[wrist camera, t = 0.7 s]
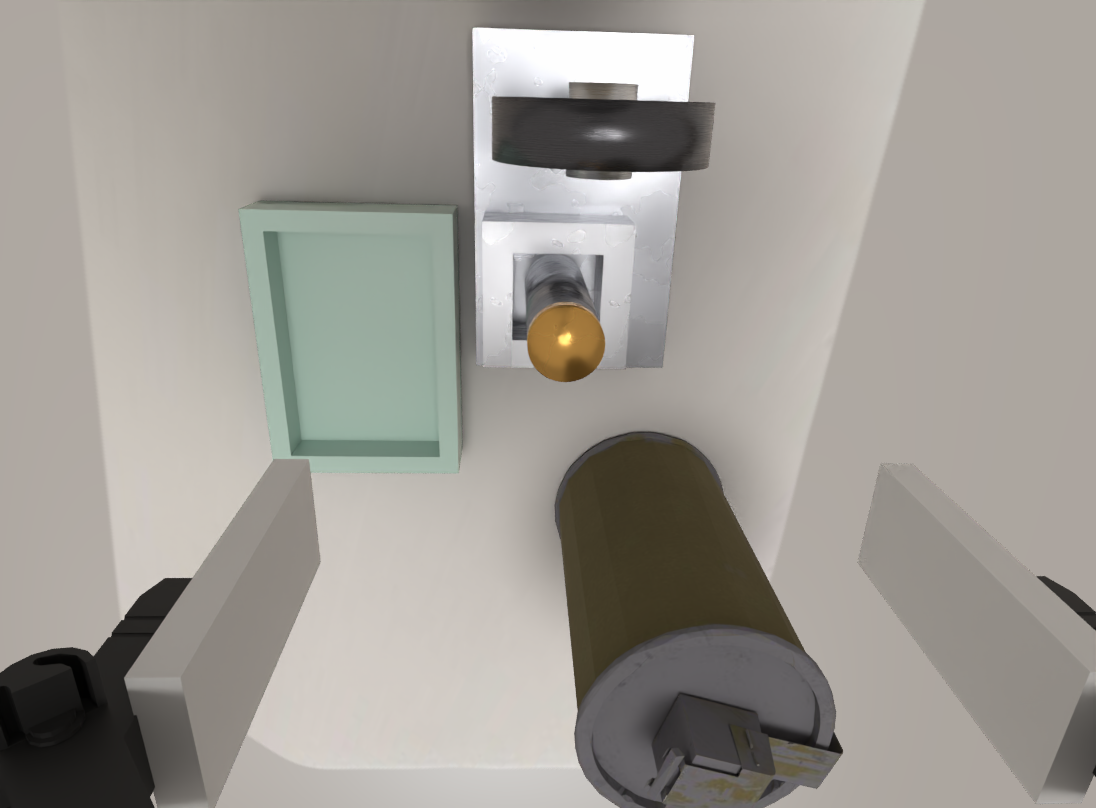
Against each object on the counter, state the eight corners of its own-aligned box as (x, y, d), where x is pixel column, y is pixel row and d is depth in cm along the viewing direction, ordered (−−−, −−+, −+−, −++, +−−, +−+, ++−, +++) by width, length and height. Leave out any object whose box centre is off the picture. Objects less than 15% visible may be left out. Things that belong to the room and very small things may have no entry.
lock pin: (525, 253, 36) (527, 306, 27) (584, 254, 36) (607, 307, 27) (524, 311, 37) (526, 381, 28) (581, 312, 37) (603, 382, 28)
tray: (259, 200, 36) (238, 209, 34) (457, 205, 37) (452, 214, 34) (290, 447, 42) (274, 472, 39) (462, 449, 42) (458, 473, 40)
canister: (531, 551, 45) (540, 860, 27) (590, 409, 42) (648, 654, 23) (686, 595, 47) (794, 912, 29) (757, 462, 43) (932, 729, 25)
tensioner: (475, 31, 34) (456, 2, 24) (685, 38, 34) (754, 13, 24) (478, 353, 40) (464, 438, 30) (655, 355, 40) (701, 441, 30)
